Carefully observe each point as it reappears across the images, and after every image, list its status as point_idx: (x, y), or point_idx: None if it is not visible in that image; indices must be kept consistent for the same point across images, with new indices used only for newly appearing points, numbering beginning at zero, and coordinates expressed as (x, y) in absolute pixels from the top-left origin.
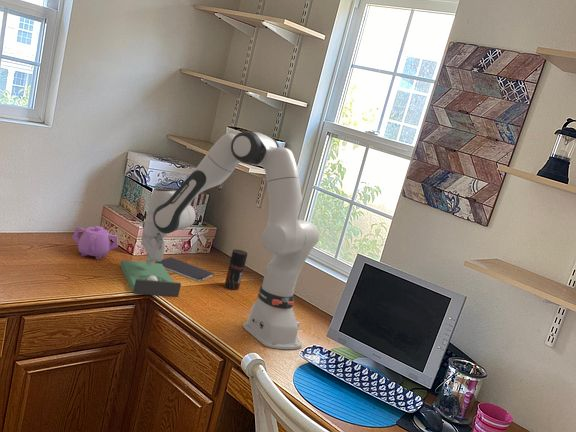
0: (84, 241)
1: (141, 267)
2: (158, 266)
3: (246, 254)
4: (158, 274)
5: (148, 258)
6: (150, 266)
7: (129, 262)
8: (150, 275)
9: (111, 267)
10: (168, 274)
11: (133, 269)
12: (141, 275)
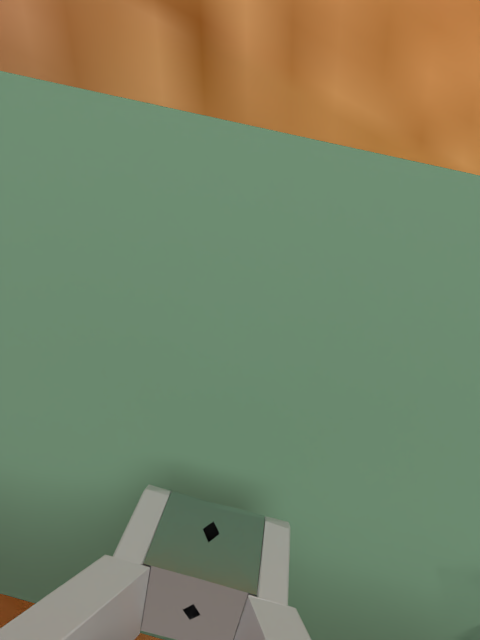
0: None
1: None
2: (50, 202)
3: None
4: (440, 391)
5: (127, 628)
6: (82, 351)
7: (4, 542)
8: (455, 520)
9: None
10: (475, 187)
11: None
12: (434, 615)
